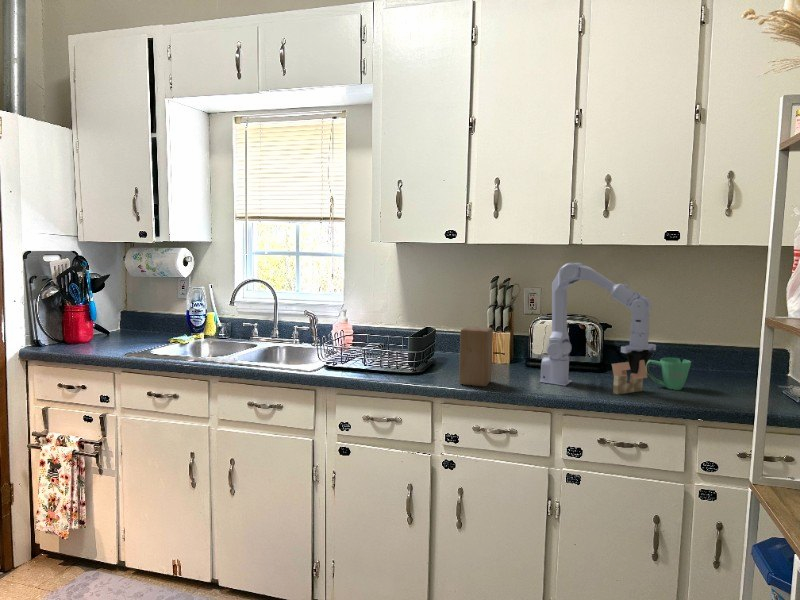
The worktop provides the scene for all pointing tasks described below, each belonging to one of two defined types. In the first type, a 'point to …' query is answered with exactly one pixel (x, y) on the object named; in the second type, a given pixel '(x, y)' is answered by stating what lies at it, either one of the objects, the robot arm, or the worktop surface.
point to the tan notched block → (626, 384)
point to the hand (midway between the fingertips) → (637, 372)
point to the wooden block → (475, 356)
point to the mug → (671, 372)
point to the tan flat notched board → (622, 367)
